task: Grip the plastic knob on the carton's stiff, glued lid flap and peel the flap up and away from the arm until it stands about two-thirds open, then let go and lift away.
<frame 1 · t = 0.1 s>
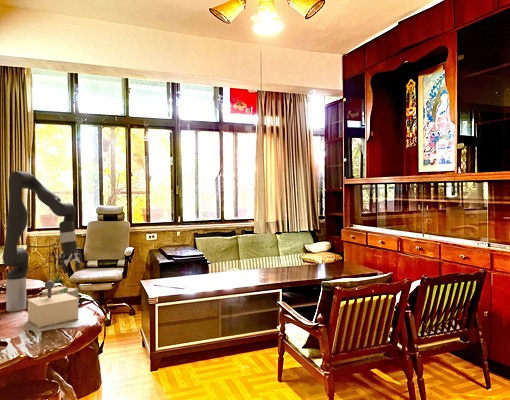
hand: (72, 271, 202), 23 cm above the table, tool pointing down, fingers open, 8 cm apart
lid flap: (53, 291, 193), point 15 cm above the table, hinge at 0.0°
carton: (53, 320, 193), on the table
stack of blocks: (61, 309, 212), on the table
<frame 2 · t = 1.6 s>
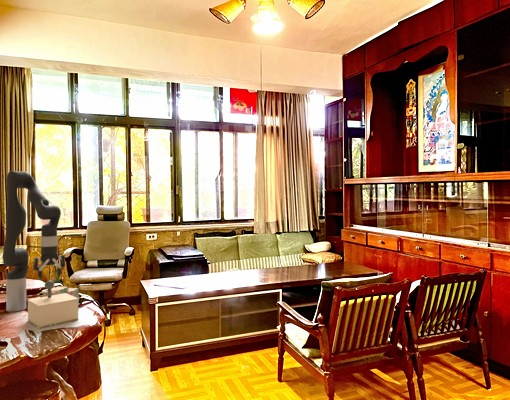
hand: (49, 277, 196), 21 cm above the table, tool pointing down, fingers open, 8 cm apart
nothing on the table moved.
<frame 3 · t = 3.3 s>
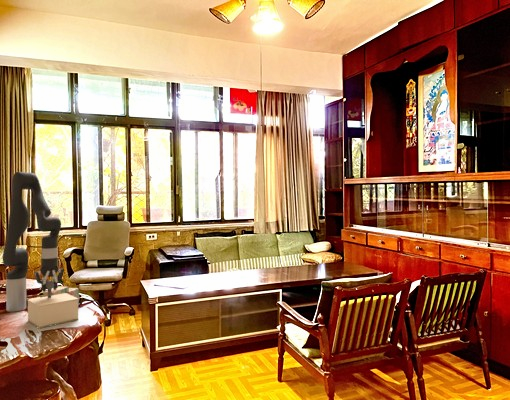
hand: (49, 290, 196), 14 cm above the table, tool pointing down, fingers closed on lid flap, 4 cm apart
lid flap: (53, 291, 193), point 15 cm above the table, hinge at 0.0°, touching gripper
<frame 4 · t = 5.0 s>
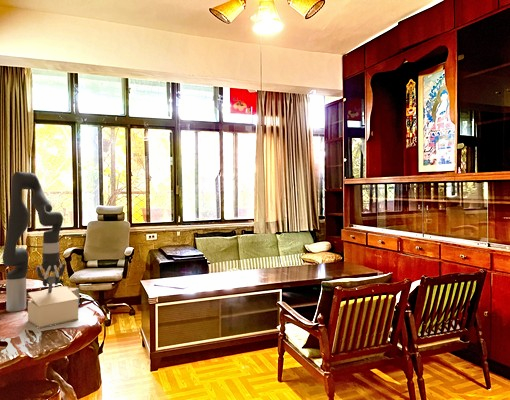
hand: (50, 285, 195), 17 cm above the table, tool pointing down, fingers closed on lid flap, 4 cm apart
lid flap: (54, 288, 192), point 16 cm above the table, hinge at 12.6°, touching gripper
everything else where it was.
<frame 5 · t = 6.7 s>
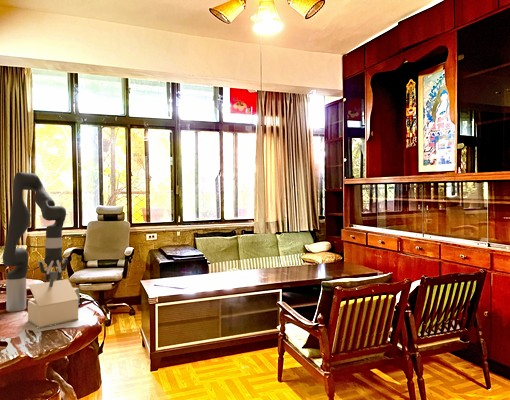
hand: (53, 280, 193), 20 cm above the table, tool pointing down, fingers closed on lid flap, 4 cm apart
lid flap: (55, 285, 191), point 18 cm above the table, hinge at 29.3°, touching gripper
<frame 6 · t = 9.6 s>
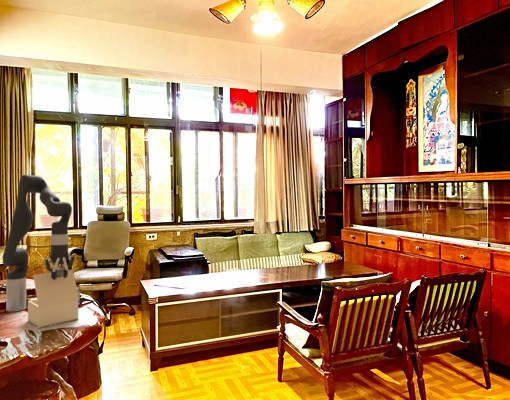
hand: (59, 278, 187), 22 cm above the table, tool pointing down, fingers closed on lid flap, 4 cm apart
lid flap: (59, 284, 187), point 19 cm above the table, hinge at 61.2°, touching gripper
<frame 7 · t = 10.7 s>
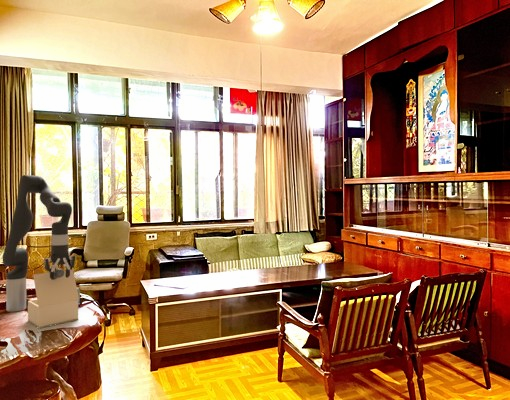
hand: (59, 278, 187), 22 cm above the table, tool pointing down, fingers open, 6 cm apart
lid flap: (59, 284, 187), point 19 cm above the table, hinge at 61.7°
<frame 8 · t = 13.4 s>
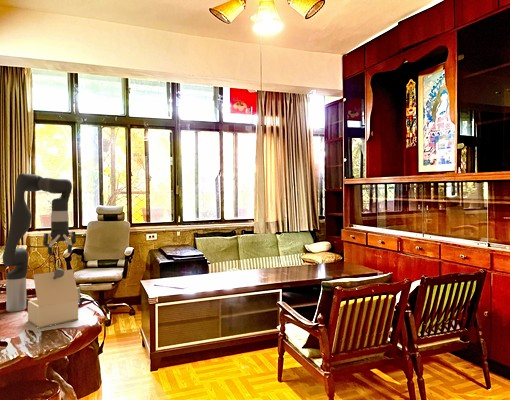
hand: (59, 253, 187), 34 cm above the table, tool pointing down, fingers open, 8 cm apart
at the end: lid flap at +62° (first picture: +0°); the gripper is holding nothing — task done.
